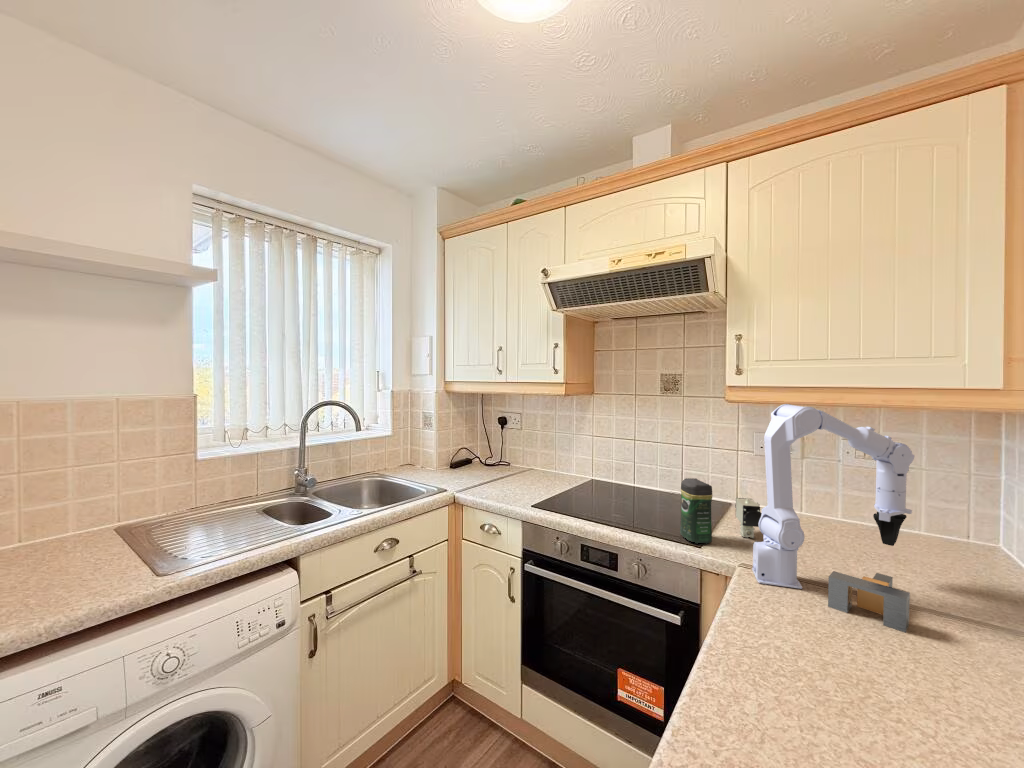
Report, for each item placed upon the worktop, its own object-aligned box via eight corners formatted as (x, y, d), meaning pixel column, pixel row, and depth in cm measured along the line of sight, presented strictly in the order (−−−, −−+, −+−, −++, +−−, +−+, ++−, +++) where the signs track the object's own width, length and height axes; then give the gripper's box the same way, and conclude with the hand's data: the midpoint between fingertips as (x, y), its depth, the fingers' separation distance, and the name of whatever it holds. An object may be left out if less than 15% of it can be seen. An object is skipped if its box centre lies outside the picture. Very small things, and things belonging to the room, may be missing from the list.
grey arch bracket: (832, 600, 101) (833, 570, 100) (908, 625, 91) (909, 592, 91) (827, 606, 98) (828, 576, 98) (905, 632, 88) (906, 599, 88)
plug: (872, 583, 109) (872, 563, 108) (896, 590, 105) (896, 569, 105) (857, 606, 98) (857, 584, 98) (883, 614, 95) (883, 592, 95)
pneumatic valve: (744, 542, 134) (744, 503, 134) (734, 529, 146) (734, 493, 145) (764, 544, 133) (764, 504, 133) (752, 530, 144) (753, 494, 144)
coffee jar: (716, 544, 133) (717, 483, 132) (691, 545, 132) (691, 484, 131) (700, 533, 142) (700, 476, 142) (676, 533, 142) (677, 476, 141)
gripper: (907, 498, 102) (905, 556, 102) (916, 487, 111) (915, 540, 112) (868, 492, 107) (867, 547, 107) (880, 482, 117) (879, 532, 117)
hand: (889, 543), depth 110 cm, fingers closed
